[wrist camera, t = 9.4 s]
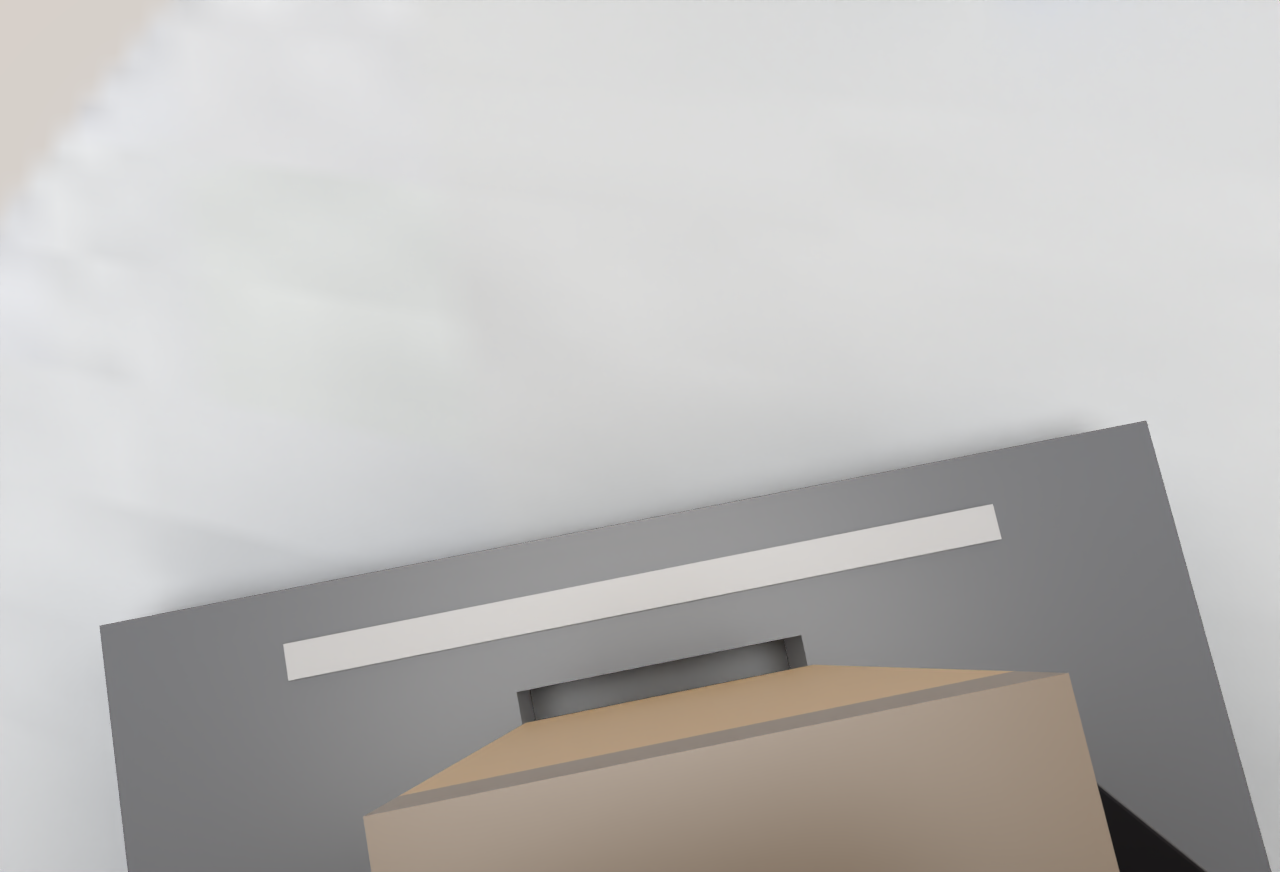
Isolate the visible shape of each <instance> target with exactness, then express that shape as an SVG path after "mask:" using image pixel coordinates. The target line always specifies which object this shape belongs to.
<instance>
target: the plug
mask: <svg viewBox="0 0 1280 872" xmlns="http://www.w3.org/2000/svg"><path fill="white" fill-rule="evenodd" d="M363 819H364V826H365V832H366V839H367V846H368V852H369V859H370V866H371V872H1119V868H1118V864H1117V860H1116V856H1115V852H1114V848H1113V844H1112V840H1111V836H1110V833H1109V829H1108V825H1107V821H1106V817H1105V813H1104V809H1103V805H1102V801H1101V797H1100V793H1099V790H1098V786H1097V782H1096V778H1095V774H1094V770H1093V766H1092V762H1091V758H1090V754H1089V750H1088V747H1087V743H1086V739H1085V735H1084V731H1083V727H1082V723H1081V719H1080V715H1079V711H1078V707H1077V704H1076V700H1075V696H1074V692H1073V688H1072V684H1071V680H1070V676H1069V673H1055V672H1024V671H993V670H962V669H930V668H899V667H868V666H837V665H809V666H805V667H800V668H795V669H790V670H785V671H780V672H775V673H770V674H765V675H760V676H755V677H750V678H745V679H740V680H735V681H730V682H725V683H720V684H715V685H710V686H705V687H700V688H695V689H690V690H686V691H681V692H676V693H671V694H666V695H661V696H656V697H651V698H646V699H641V700H636V701H631V702H626V703H621V704H616V705H611V706H606V707H601V708H596V709H591V710H586V711H581V712H576V713H571V714H567V715H562V716H557V717H552V718H547V719H542V720H537V721H532V722H527V723H524V724H523V725H521V726H519V727H517V728H516V729H514V730H512V731H511V732H509V733H507V734H505V735H504V736H502V737H500V738H498V739H497V740H495V741H493V742H491V743H490V744H488V745H486V746H485V747H483V748H481V749H479V750H478V751H476V752H474V753H472V754H471V755H469V756H467V757H465V758H464V759H462V760H460V761H459V762H457V763H455V764H453V765H452V766H450V767H448V768H446V769H445V770H443V771H441V772H439V773H438V774H436V775H434V776H433V777H431V778H429V779H427V780H426V781H424V782H422V783H420V784H419V785H417V786H415V787H413V788H412V789H410V790H408V791H407V792H405V793H403V794H401V795H400V796H398V797H396V798H394V799H393V800H391V801H389V802H387V803H386V804H384V805H382V806H381V807H379V808H377V809H375V810H374V811H372V812H370V813H368V814H367V815H365V816H363Z"/></svg>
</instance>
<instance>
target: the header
mask: <svg viewBox="0 0 1280 872" xmlns="http://www.w3.org/2000/svg"><path fill="white" fill-rule="evenodd" d="M100 633H101V642H102V650H103V659H104V668H105V676H106V685H107V694H108V702H109V711H110V720H111V728H112V737H113V746H114V754H115V763H116V771H117V780H118V789H119V797H120V806H121V815H122V823H123V832H124V841H125V849H126V858H127V867H128V872H371V866H370V859H369V852H368V846H367V839H366V832H365V826H364V819H363V816H365V815H367V814H368V813H370V812H372V811H374V810H375V809H377V808H379V807H381V806H382V805H384V804H386V803H387V802H389V801H391V800H393V799H394V798H396V797H398V796H400V795H401V794H403V793H405V792H407V791H408V790H410V789H412V788H413V787H415V786H417V785H419V784H420V783H422V782H424V781H426V780H427V779H429V778H431V777H433V776H434V775H436V774H438V773H439V772H441V771H443V770H445V769H446V768H448V767H450V766H452V765H453V764H455V763H457V762H459V761H460V760H462V759H464V758H465V757H467V756H469V755H471V754H472V753H474V752H476V751H478V750H479V749H481V748H483V747H485V746H486V745H488V744H490V743H491V742H493V741H495V740H497V739H498V738H500V737H502V736H504V735H505V734H507V733H509V732H511V731H512V730H514V729H516V728H517V727H519V726H521V725H523V724H524V723H527V722H532V721H535V716H534V710H533V705H532V699H531V693H530V689H535V688H540V687H545V686H550V685H554V684H559V683H564V682H569V681H574V680H579V679H584V678H589V677H594V676H599V675H604V674H609V673H614V672H619V671H624V670H629V669H634V668H639V667H644V666H649V665H654V664H659V663H664V662H669V661H674V660H679V659H684V658H689V657H694V656H699V655H704V654H709V653H714V652H719V651H724V650H729V649H734V648H739V647H744V646H749V645H754V644H759V643H764V642H769V641H774V640H779V639H784V643H785V648H786V653H787V657H788V662H789V667H790V669H795V668H800V667H805V666H809V665H837V666H868V667H899V668H930V669H962V670H993V671H1024V672H1055V673H1069V676H1070V680H1071V684H1072V688H1073V692H1074V696H1075V700H1076V704H1077V707H1078V711H1079V715H1080V719H1081V723H1082V727H1083V731H1084V735H1085V739H1086V743H1087V747H1088V750H1089V754H1090V758H1091V762H1092V766H1093V770H1094V774H1095V778H1096V782H1097V783H1098V784H1100V785H1101V786H1102V787H1103V788H1105V789H1106V790H1107V791H1108V792H1110V793H1111V794H1112V795H1113V796H1115V797H1116V798H1117V799H1118V800H1120V801H1121V802H1122V803H1123V804H1125V805H1126V806H1127V807H1128V808H1130V809H1131V810H1132V811H1133V812H1135V813H1136V814H1137V815H1138V816H1140V817H1141V818H1142V819H1143V820H1145V821H1146V822H1147V823H1148V824H1150V825H1151V826H1152V827H1153V828H1155V829H1156V830H1157V831H1158V832H1160V833H1161V834H1162V835H1163V836H1165V837H1166V838H1167V839H1168V840H1170V841H1171V842H1172V843H1173V844H1175V845H1176V846H1177V847H1178V848H1180V849H1181V850H1182V851H1183V852H1185V853H1186V854H1187V855H1188V856H1190V857H1191V858H1192V859H1193V860H1195V861H1196V862H1197V863H1198V864H1200V865H1201V866H1202V867H1203V868H1205V869H1206V870H1207V871H1208V872H1271V869H1270V866H1269V862H1268V858H1267V855H1266V851H1265V847H1264V844H1263V840H1262V837H1261V833H1260V829H1259V826H1258V822H1257V819H1256V815H1255V811H1254V808H1253V804H1252V801H1251V797H1250V793H1249V790H1248V786H1247V783H1246V779H1245V775H1244V772H1243V768H1242V765H1241V761H1240V757H1239V754H1238V750H1237V746H1236V743H1235V739H1234V736H1233V732H1232V728H1231V725H1230V721H1229V718H1228V714H1227V710H1226V707H1225V703H1224V700H1223V696H1222V692H1221V689H1220V685H1219V682H1218V678H1217V674H1216V671H1215V667H1214V663H1213V660H1212V656H1211V653H1210V649H1209V645H1208V642H1207V638H1206V635H1205V631H1204V627H1203V624H1202V620H1201V617H1200V613H1199V609H1198V606H1197V602H1196V599H1195V595H1194V591H1193V588H1192V584H1191V581H1190V577H1189V573H1188V570H1187V566H1186V562H1185V559H1184V555H1183V552H1182V548H1181V544H1180V541H1179V537H1178V534H1177V530H1176V526H1175V523H1174V519H1173V516H1172V512H1171V508H1170V505H1169V501H1168V498H1167V494H1166V490H1165V487H1164V483H1163V479H1162V476H1161V472H1160V469H1159V465H1158V461H1157V458H1156V454H1155V451H1154V447H1153V443H1152V440H1151V436H1150V433H1149V429H1148V425H1147V422H1146V421H1142V422H1137V423H1132V424H1127V425H1122V426H1117V427H1112V428H1106V429H1101V430H1096V431H1091V432H1086V433H1081V434H1076V435H1071V436H1066V437H1061V438H1055V439H1050V440H1045V441H1040V442H1035V443H1030V444H1025V445H1020V446H1015V447H1010V448H1004V449H999V450H994V451H989V452H984V453H979V454H974V455H969V456H964V457H958V458H953V459H948V460H943V461H938V462H933V463H928V464H923V465H918V466H913V467H907V468H902V469H897V470H892V471H887V472H882V473H877V474H872V475H867V476H862V477H856V478H851V479H846V480H841V481H836V482H831V483H826V484H821V485H816V486H810V487H805V488H800V489H795V490H790V491H785V492H780V493H775V494H770V495H765V496H759V497H754V498H749V499H744V500H739V501H734V502H729V503H724V504H719V505H714V506H708V507H703V508H698V509H693V510H688V511H683V512H678V513H673V514H668V515H662V516H657V517H652V518H647V519H642V520H637V521H632V522H627V523H622V524H617V525H611V526H606V527H601V528H596V529H591V530H586V531H581V532H576V533H571V534H565V535H560V536H555V537H550V538H545V539H540V540H535V541H530V542H525V543H520V544H514V545H509V546H504V547H499V548H494V549H489V550H484V551H479V552H474V553H469V554H463V555H458V556H453V557H448V558H443V559H438V560H433V561H428V562H423V563H417V564H412V565H407V566H402V567H397V568H392V569H387V570H382V571H377V572H372V573H366V574H361V575H356V576H351V577H346V578H341V579H336V580H331V581H326V582H321V583H315V584H310V585H305V586H300V587H295V588H290V589H285V590H280V591H275V592H269V593H264V594H259V595H254V596H249V597H244V598H239V599H234V600H229V601H224V602H218V603H213V604H208V605H203V606H198V607H193V608H188V609H183V610H178V611H173V612H167V613H162V614H157V615H152V616H147V617H142V618H137V619H132V620H127V621H121V622H116V623H111V624H106V625H101V626H100Z"/></svg>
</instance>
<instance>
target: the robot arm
mask: <svg viewBox="0 0 1280 872" xmlns="http://www.w3.org/2000/svg"><path fill="white" fill-rule="evenodd" d="M1097 786H1098V790H1099V793H1100V797H1101V801H1102V805H1103V809H1104V813H1105V817H1106V821H1107V825H1108V829H1109V833H1110V836H1111V840H1112V844H1113V848H1114V852H1115V856H1116V860H1117V864H1118V868H1119V872H1208V871H1207V870H1206V869H1205V868H1203V867H1202V866H1201V865H1200V864H1198V863H1197V862H1196V861H1195V860H1193V859H1192V858H1191V857H1190V856H1188V855H1187V854H1186V853H1185V852H1183V851H1182V850H1181V849H1180V848H1178V847H1177V846H1176V845H1175V844H1173V843H1172V842H1171V841H1170V840H1168V839H1167V838H1166V837H1165V836H1163V835H1162V834H1161V833H1160V832H1158V831H1157V830H1156V829H1155V828H1153V827H1152V826H1151V825H1150V824H1148V823H1147V822H1146V821H1145V820H1143V819H1142V818H1141V817H1140V816H1138V815H1137V814H1136V813H1135V812H1133V811H1132V810H1131V809H1130V808H1128V807H1127V806H1126V805H1125V804H1123V803H1122V802H1121V801H1120V800H1118V799H1117V798H1116V797H1115V796H1113V795H1112V794H1111V793H1110V792H1108V791H1107V790H1106V789H1105V788H1103V787H1102V786H1101V785H1100V784H1098V783H1097Z"/></svg>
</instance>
